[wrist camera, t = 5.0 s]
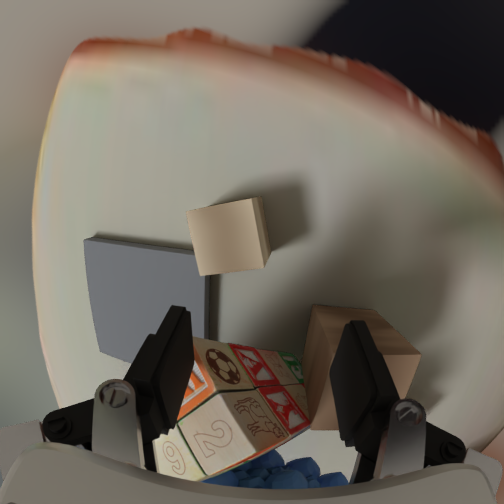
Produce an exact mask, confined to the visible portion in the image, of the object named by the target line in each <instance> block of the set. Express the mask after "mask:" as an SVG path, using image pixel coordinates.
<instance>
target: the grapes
mask: <svg viewBox="0 0 504 504" xmlns="http://www.w3.org/2000/svg"><path fill="white" fill-rule="evenodd" d="M200 482H202V483H209V484H216V485H223V486H232V487H242V488H257V489H309V488H323V487H334V486H343V485H349V482H348V480H347V479H346V477H345V476H344V475H343V474H342V473H341V472H335V473H329V474H324V475H321V476H320V468H319V466H318V465H317V463H316V462H315V461H314V460H313V459H312V458H311V457H306V458H300V459H295V460H292V461H290V462H288V463H286V465H285V464H284V460H283V458H282V457H281V455H280V454H279V453H278V452H277V451H276V450H275V449H273V450H271V451H270V452H268V453H266V454H264V455H262V456H260V457H258V458H256V459H254V460H252V461H250V462H247V463H245V464H243V465H241V466H238V467H236V468H234V469H232V470H230V471H227V472H225V473H222V474H220V475H217V476H215V477H212V478H208V479H206V480H203V481H200Z"/></svg>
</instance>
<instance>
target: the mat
mask: <svg viewBox="0 0 504 504" xmlns="http://www.w3.org/2000/svg"><path fill="white" fill-rule="evenodd" d="M84 254H85V265H86V275H87V283H88V291H89V298H90V304H91V310H92V316H93V321H94V326H95V331H96V336H97V341H98V345H99V349H100V352H102V353H105V354H107V355H110V356H112V357H115V358H118V359H120V360H123V361H126V362H129V363H131V364H132V362H133V361H134V359H135V357H136V355H137V353H138V352H139V350H140V348H141V346H142V344H143V343H144V341H145V339H146V337H147V336H148V335H149V334H150V333H151V334H156V332H157V330H158V328H159V327H160V325H161V323H162V321H163V319H164V317H165V316H166V314H167V312H168V310H169V308H170V307H171V305H176V306H183V307H186V310H187V311H190V312H191V322H192V335H193V336H195V337H199V338H203V339H208V340H209V291H210V275H205V276H200V274H199V270H198V265H197V261H196V257H195V252H194V251H193V250H185V249H177V248H169V247H162V246H154V245H147V244H139V243H132V242H124V241H117V240H109V239H102V238H94V237H91V238H88V239H84Z"/></svg>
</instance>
